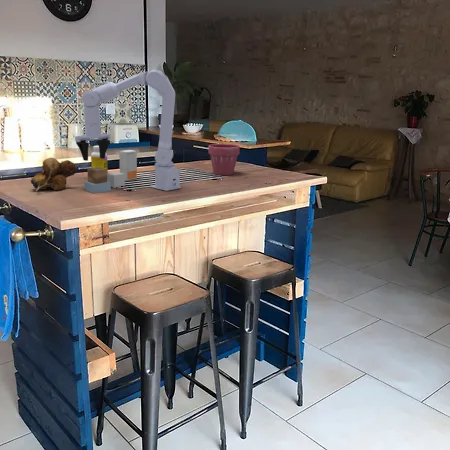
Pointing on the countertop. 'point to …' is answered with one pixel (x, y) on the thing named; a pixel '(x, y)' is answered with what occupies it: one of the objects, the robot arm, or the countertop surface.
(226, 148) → the plant pot
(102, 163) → the supplement bottle
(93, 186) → the base block
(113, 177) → the grey block
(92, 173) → the walnut block
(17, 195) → the countertop surface
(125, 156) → the skincare box
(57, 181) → the seed pod
